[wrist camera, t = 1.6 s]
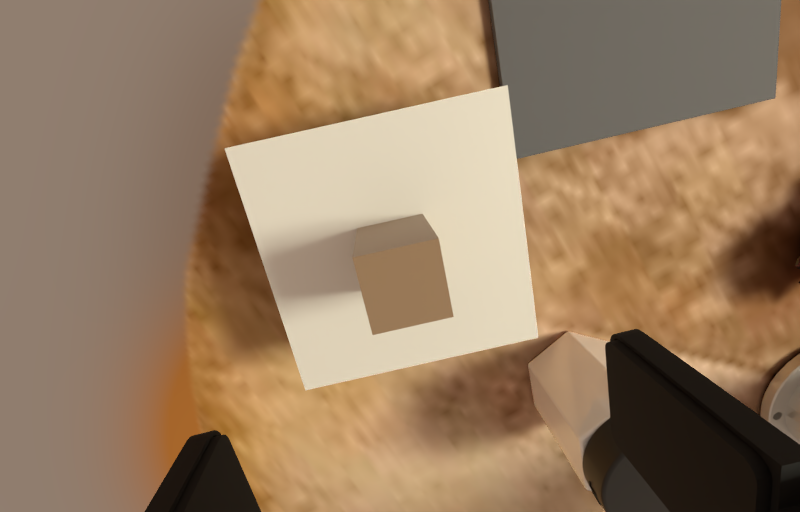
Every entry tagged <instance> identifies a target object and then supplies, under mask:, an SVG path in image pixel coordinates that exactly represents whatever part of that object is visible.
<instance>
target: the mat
mask: <svg viewBox="0 0 800 512" xmlns="http://www.w3.org/2000/svg"><path fill="white" fill-rule="evenodd" d="M488 1H489V8H490V16H491V23H492V30H493V38H494V45H495V53H496V60H497V67H498V75H499V82H500V87H501V86H505V85H508V91H509V100H510V108H511V116H512V124H513V133H514V141H515V149H516V157H517V159H518V158H523V157H527V156H531V155H535V154H540V153H544V152H548V151H552V150H557V149H561V148H565V147H569V146H574V145H578V144H582V143H586V142H591V141H595V140H599V139H603V138H608V137H612V136H616V135H620V134H625V133H629V132H633V131H637V130H642V129H646V128H650V127H655V126H659V125H663V124H667V123H672V122H676V121H680V120H684V119H689V118H693V117H697V116H701V115H706V114H710V113H714V112H718V111H723V110H727V109H731V108H735V107H740V106H744V105H748V104H752V103H757V102H761V101H765V100H769V99H774V98H775V96H776V79H777V62H778V46H779V29H780V12H781V0H488Z"/></svg>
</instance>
